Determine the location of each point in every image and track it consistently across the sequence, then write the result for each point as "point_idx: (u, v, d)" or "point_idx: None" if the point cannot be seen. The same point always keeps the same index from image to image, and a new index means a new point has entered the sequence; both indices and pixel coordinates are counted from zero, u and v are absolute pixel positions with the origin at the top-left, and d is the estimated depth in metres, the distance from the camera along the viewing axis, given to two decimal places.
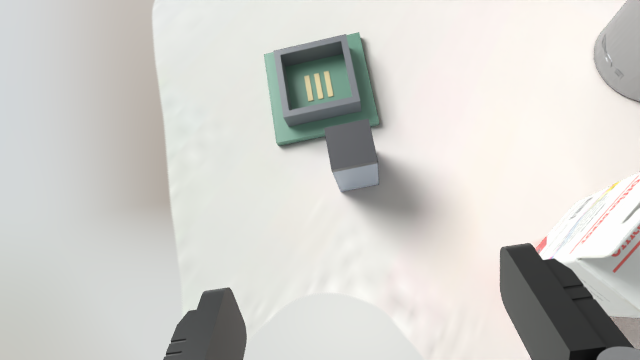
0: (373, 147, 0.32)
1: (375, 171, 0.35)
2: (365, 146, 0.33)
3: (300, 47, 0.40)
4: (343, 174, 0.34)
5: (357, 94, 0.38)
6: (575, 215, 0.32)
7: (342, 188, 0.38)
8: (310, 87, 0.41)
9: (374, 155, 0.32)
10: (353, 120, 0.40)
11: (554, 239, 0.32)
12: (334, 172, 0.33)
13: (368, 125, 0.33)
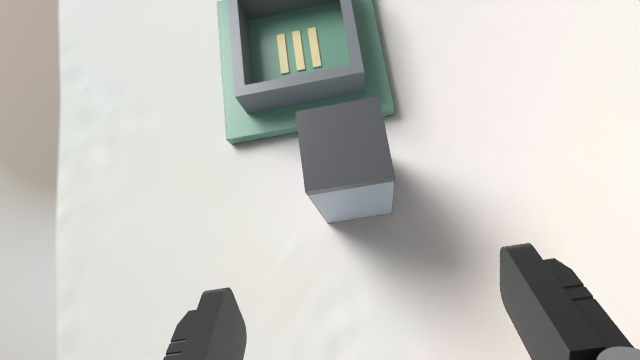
0: (387, 150, 0.17)
1: (389, 194, 0.19)
2: (371, 148, 0.17)
3: None
4: (329, 198, 0.18)
5: (359, 60, 0.23)
6: None
7: (330, 219, 0.22)
8: (285, 52, 0.26)
9: (388, 166, 0.17)
10: None
11: None
12: (311, 195, 0.17)
13: (378, 108, 0.17)
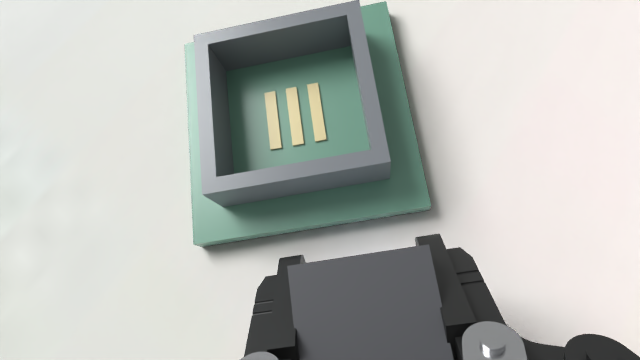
0: (447, 350, 0.10)
1: None
2: (419, 344, 0.10)
3: (253, 28, 0.18)
4: None
5: (384, 144, 0.15)
6: None
7: None
8: (276, 118, 0.19)
9: None
10: (370, 200, 0.17)
11: None
12: None
13: (429, 268, 0.10)
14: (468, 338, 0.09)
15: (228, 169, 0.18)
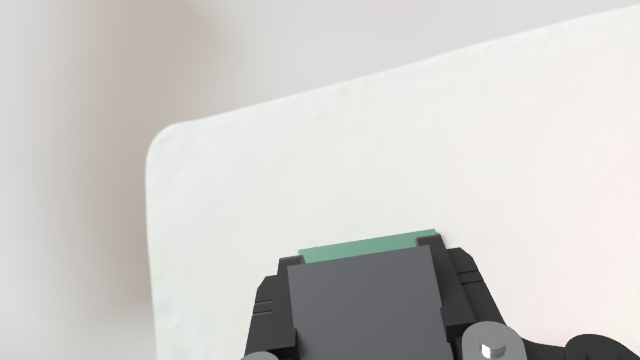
0: (447, 351, 0.10)
1: None
2: (420, 344, 0.10)
3: None
4: None
5: None
6: None
7: None
8: None
9: None
10: None
11: None
12: None
13: (429, 268, 0.10)
14: (468, 338, 0.09)
15: None
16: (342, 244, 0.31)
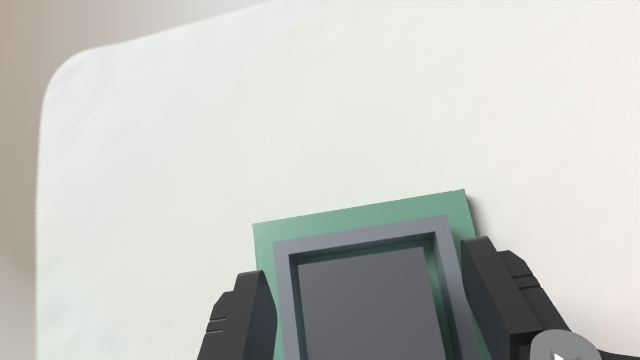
0: (438, 339, 0.11)
1: None
2: (414, 334, 0.11)
3: (336, 239, 0.17)
4: None
5: None
6: None
7: None
8: None
9: None
10: None
11: None
12: None
13: (422, 267, 0.12)
14: (538, 348, 0.08)
15: None
16: (320, 214, 0.20)
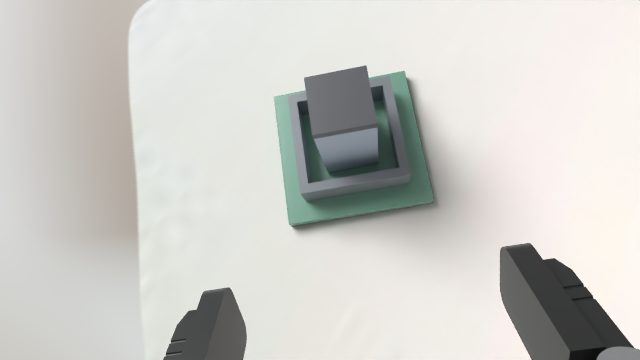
0: (372, 104, 0.23)
1: (374, 141, 0.25)
2: (360, 103, 0.23)
3: None
4: (329, 143, 0.24)
5: (406, 164, 0.27)
6: None
7: (330, 167, 0.29)
8: None
9: (373, 115, 0.23)
10: (397, 196, 0.29)
11: None
12: (316, 139, 0.24)
13: (365, 74, 0.24)
14: None
15: (310, 178, 0.29)
16: None
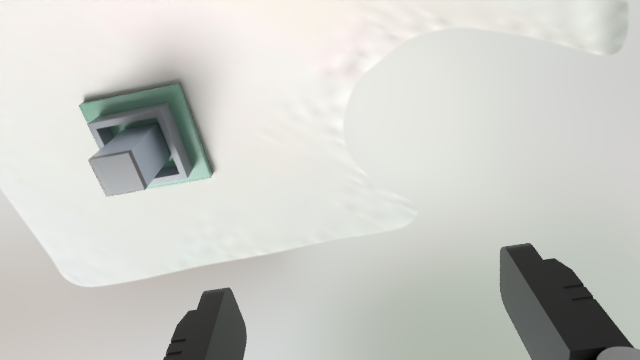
0: (115, 156, 0.35)
1: (141, 142, 0.37)
2: (116, 162, 0.35)
3: None
4: (148, 173, 0.38)
5: (153, 112, 0.38)
6: None
7: (166, 157, 0.42)
8: None
9: (123, 155, 0.35)
10: (179, 109, 0.40)
11: None
12: (147, 184, 0.37)
13: (95, 160, 0.35)
14: None
15: (176, 168, 0.43)
16: None
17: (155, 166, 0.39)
